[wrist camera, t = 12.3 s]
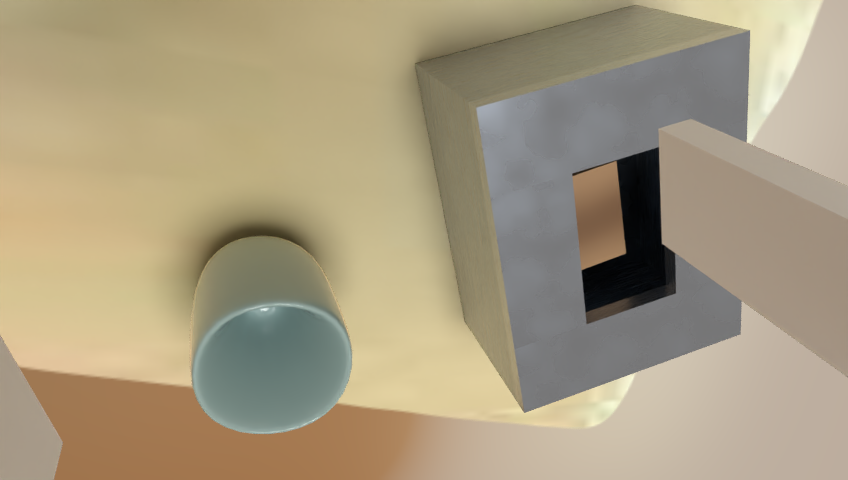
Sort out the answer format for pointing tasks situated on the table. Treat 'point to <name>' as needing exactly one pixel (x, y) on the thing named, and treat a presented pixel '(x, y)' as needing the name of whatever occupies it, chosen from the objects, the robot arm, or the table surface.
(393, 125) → the table surface
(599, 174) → the block
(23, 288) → the table surface
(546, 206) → the coin box
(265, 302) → the cup
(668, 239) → the robot arm
